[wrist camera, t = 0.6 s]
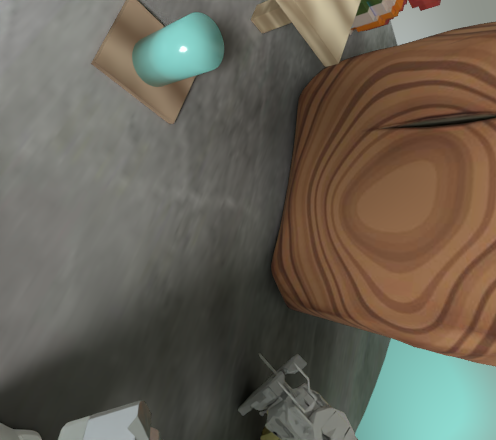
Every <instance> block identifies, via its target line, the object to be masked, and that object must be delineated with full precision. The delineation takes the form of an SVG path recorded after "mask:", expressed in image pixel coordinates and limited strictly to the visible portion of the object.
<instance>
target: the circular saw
mask: <svg viewBox="0 0 496 440" xmlns="http://www.w3.org/2000/svg"><path fill="white" fill-rule="evenodd" d="M259 356H260V358H261V359H262V360H263V361H264V363H265V364H266V365H267V366H268V367H269V368H270V369H271V370H272V371H273V374H272V375H271V376H270V377H269V378H268V379H267V380H266V381H265V382H264V383H263V384H262V385H261V386H260V387H259V388H257V389H256V390H255V391H254V392H253V393H252V394H251V395H250V396H249V397H248V398H247V400H246V401H245V402H244V403H243V404H242V405H241V406H240V407H239V408H238V411H239V412H240V413H241V415H242V416H243V415H245V414H246V413H248V412H249V411H250V410H252V409H253V407H254V408H255V409H257V410H260V411H261V410H264V409H267V411H263V412H262V411H261V412H260V413H259V414H260V415H261V416H264V413H266V414H267V423H266V424H265V427H264V428H263V431H262V435H261V438H260V440H358V439H357V438H356V437H355V433H354V431H353V429H352V427H351V425H350V423H349V421H348V419H347V417H346V415H345V413H344V412H341V411H339V410H337V409H334V408H332V407H331V406H330V405H329V404H328V403H327V402H326V401H325V400H324V399H323V398H322V397H321V394H319V393H318V392H316V391H313V390H312V389H311V388H310V381H309V377H308V376H307V375H306V374H305V373H304V372H303V371H302V369H303V368H304V367H305V366H306V365H307V363H306V362H305V361H304V360H303V359H302V358H301V356H300V355H299V354H296V355H295V356H293V357H292V358H291V359H290V360H288V361H287V362H286V363H285V364H284V365H283V366H281V367H280V368H279V369H278V370H277V371H276V370H275V369H274V368H273V367H272V366H271V365H270V364H269V363H268V361H267V360H266V359H265V358H264V357H263V356H262V355H261V354H260V353H259ZM298 371H300V372H301V373H302V374H303V375H304V377H305V378H306V379H307V382H308V385H307V384H306V383H303V384H302V385H300V386H299V387H297V388H294V389H292V388H291V387H290V386H289V385H288V384H287V383H286V382H285V380H284V379H285V375H286V374H287V373H292V374H296V373H297V372H298ZM286 387H287V388H286Z"/></svg>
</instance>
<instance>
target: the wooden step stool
mask: <svg viewBox="0 0 496 440" xmlns="http://www.w3.org/2000/svg"><path fill="white" fill-rule="evenodd" d="M360 1H361V0H268V1H265V2H263V3H261V4H259V5H257V6H256V9H255V11H254V13H253V16H252V18H251V21H252V22H253V23H254V24H255V26H256V27H257V28H258V29H259V30H260V32H261V33H265V32H268V31H270V30H273V29H276V28H279V27H281V26H284V25H287V24H289V23H293V24H294V26H295V27H296V29H297V30H298V31H299V33H300V34H301V35H302V37H303V38H304V39H305V41H306V42H307V43H308V45H309V46H310V47H311V49H312V50H313V51H314V53H315V54H316V55H317V57H318V58H319V59H320V61H321V62H322V63H323V65H324V66H325V67H328V66H331V65H335V64H339V62H340V59H341V56H342V53H343V50H344V47H345V44H346V42H347V39H348V36H349V33H350V30H351V27H352V24H353V22H354V19H355V16H356V13H357V10H358V7H359V4H360Z"/></svg>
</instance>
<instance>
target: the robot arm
mask: <svg viewBox="0 0 496 440" xmlns="http://www.w3.org/2000/svg"><path fill="white" fill-rule="evenodd" d="M0 440H42V438H41V436H40V434H39V433H38V432H36V431H33V430H21V429H12V428H9V427H7V426H5V425H4V424H2V423H0ZM58 440H163V439H162V437H161V435H160V432H159V430H157V429H155V428H153V427H151V412H150V410H149V408H148V406H147V404H146V402H145V401H142V400H140V401H137V402H133V403H130V404H126V405H123V406H120V407H116V408H113V409H110V410H106V411H103V412H99V413H96V414H93V415H92V416H87V417H84V418H81V419H77V420H74V421H71V422H67V423H66V424H65V425H64V427H63V428H62V429H61V432H60V435H59V438H58Z"/></svg>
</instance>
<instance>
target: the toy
mask: <svg viewBox="0 0 496 440" xmlns="http://www.w3.org/2000/svg"><path fill="white" fill-rule="evenodd" d="M408 1H409V3H410V5H411V6H412V8H415V7H418V6H419V8H420V10H421V11H422V10H425V9H428V8H432V7H435V6H438V5H440V2H441V0H408ZM405 4H407V0H361V1H360V4H359V7H358V10H357V13H356V16H355V19H354V22H353V24H352V27H351V30H350V33H349V36H350V35H351V34H352V31H355V30H357V31H358V32H360V31H365V30H366V31H367V30H370V29H374V28H377V27H380V26H383V25H387V24H388V23H389V20H391V19H393V18H394V17H396V16H398V13H399V12H400V11H403V7H404V5H405Z"/></svg>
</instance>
